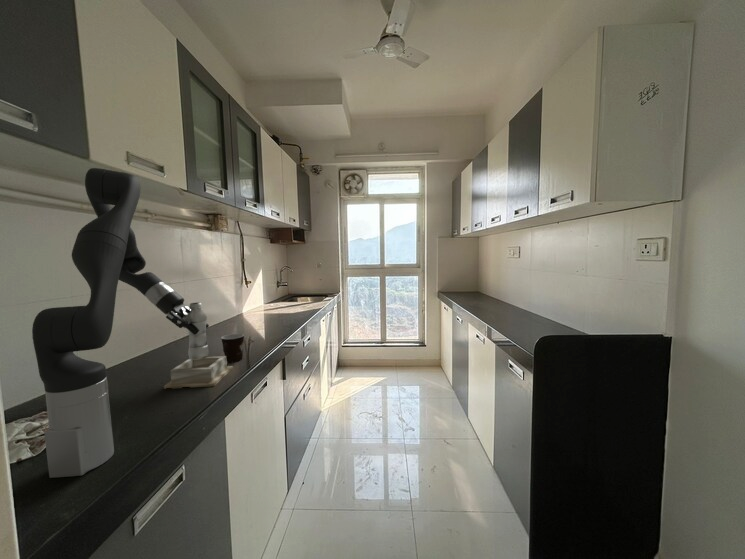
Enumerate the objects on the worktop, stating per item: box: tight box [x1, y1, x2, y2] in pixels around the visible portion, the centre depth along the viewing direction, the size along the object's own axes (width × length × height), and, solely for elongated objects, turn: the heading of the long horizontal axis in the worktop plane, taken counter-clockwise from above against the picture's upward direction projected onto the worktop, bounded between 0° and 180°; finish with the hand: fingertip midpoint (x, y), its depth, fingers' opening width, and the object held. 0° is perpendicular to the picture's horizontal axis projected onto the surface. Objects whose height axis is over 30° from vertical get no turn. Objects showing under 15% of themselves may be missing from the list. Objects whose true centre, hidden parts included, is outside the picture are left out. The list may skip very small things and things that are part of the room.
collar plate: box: [163, 355, 234, 390], centre depth 108 cm, size 16×16×6 cm
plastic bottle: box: [187, 302, 210, 360], centre depth 107 cm, size 6×7×20 cm
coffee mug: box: [220, 333, 245, 363], centre depth 125 cm, size 12×9×10 cm
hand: (202, 330), depth 107 cm, fingers closed on plastic bottle, 6 cm apart
